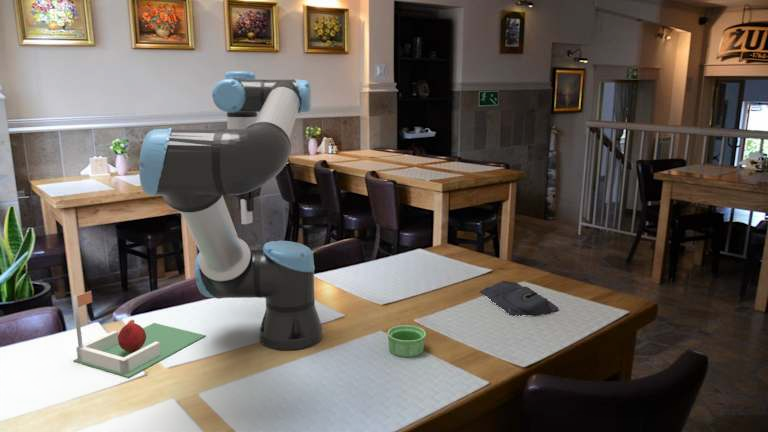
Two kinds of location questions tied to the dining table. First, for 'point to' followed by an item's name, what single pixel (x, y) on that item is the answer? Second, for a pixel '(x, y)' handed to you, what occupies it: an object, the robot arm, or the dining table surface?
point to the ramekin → (406, 340)
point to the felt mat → (166, 335)
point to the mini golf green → (109, 346)
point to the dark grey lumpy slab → (518, 299)
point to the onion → (131, 337)
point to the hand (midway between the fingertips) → (247, 222)
